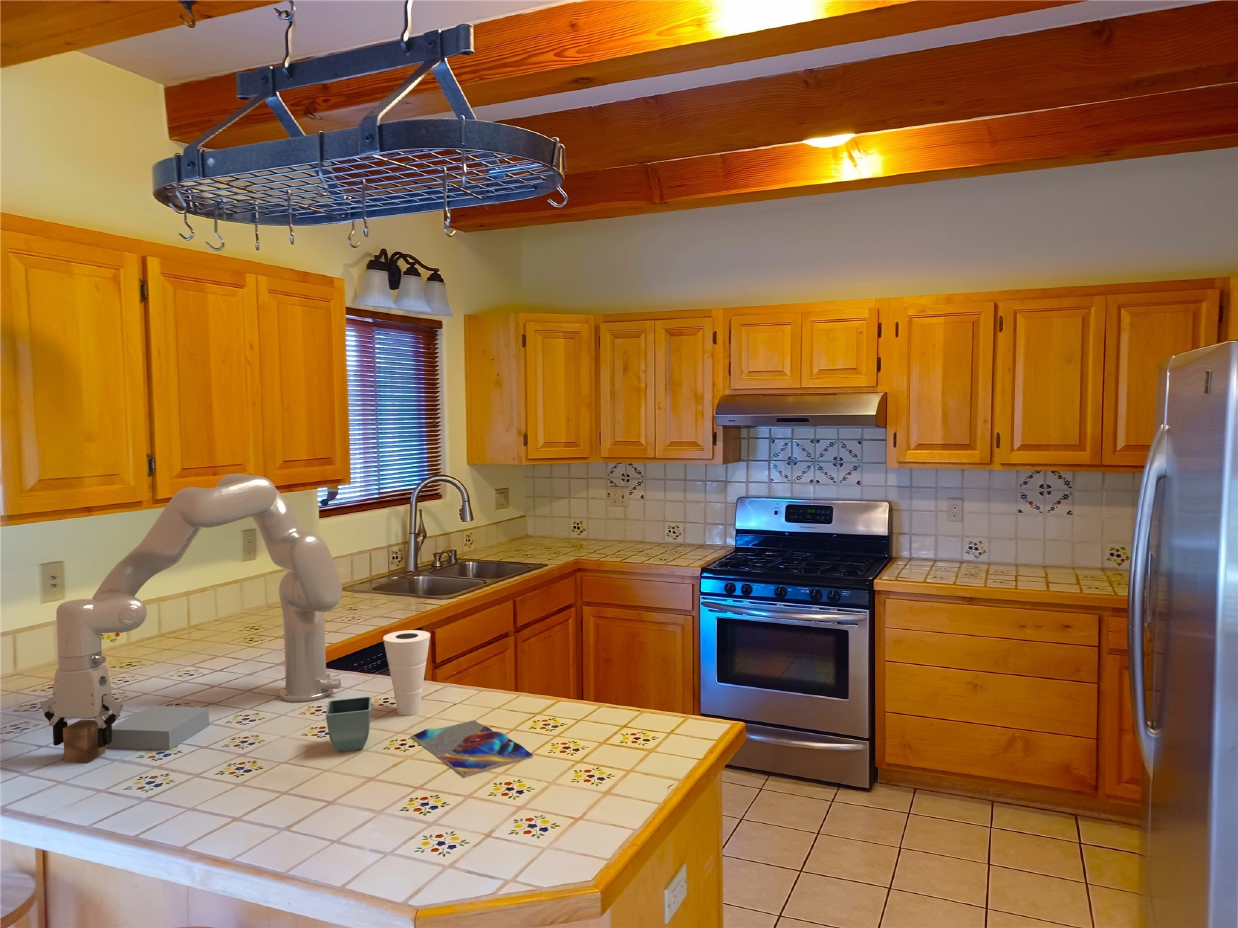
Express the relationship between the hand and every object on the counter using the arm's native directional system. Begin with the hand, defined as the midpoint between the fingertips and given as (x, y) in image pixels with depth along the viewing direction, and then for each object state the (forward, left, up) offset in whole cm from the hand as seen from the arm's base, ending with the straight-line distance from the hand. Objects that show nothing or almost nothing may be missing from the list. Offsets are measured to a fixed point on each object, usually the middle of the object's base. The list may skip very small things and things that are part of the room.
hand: (82, 743), depth 170 cm
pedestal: (-8, -12, -3) cm, 15 cm away
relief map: (-77, -12, -4) cm, 78 cm away
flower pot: (-52, -10, -3) cm, 53 cm away
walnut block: (0, 0, -3) cm, 3 cm away
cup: (-57, -31, -3) cm, 65 cm away
